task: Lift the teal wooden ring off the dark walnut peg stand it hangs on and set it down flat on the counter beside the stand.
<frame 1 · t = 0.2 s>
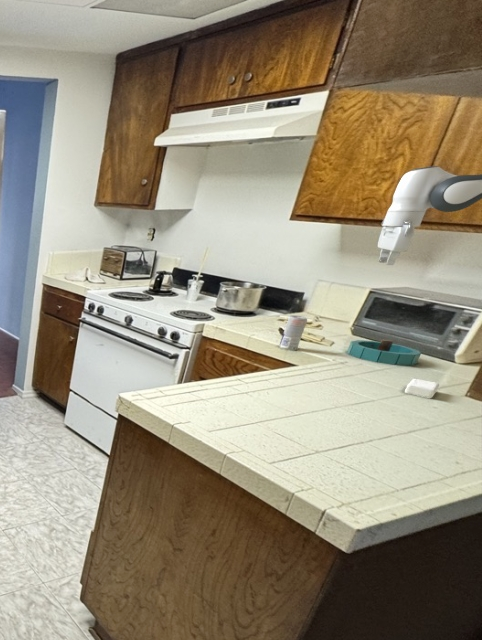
hand: (385, 263, 160), 32 cm above the counter, tool pointing down, fingers open, 8 cm apart
ring: (380, 357, 166), on the counter
energy drink: (287, 349, 175), on the counter
soap: (419, 393, 134), on the counter
peg stand: (380, 357, 166), on the counter
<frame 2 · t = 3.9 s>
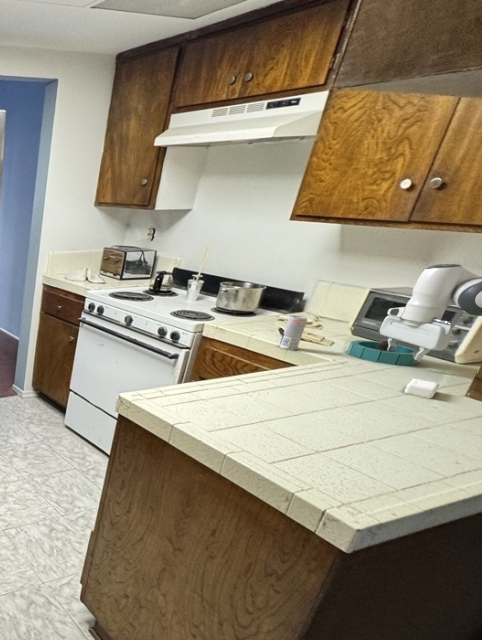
hand: (403, 355, 157), 3 cm above the counter, tool pointing down, fingers open, 8 cm apart
nothing on the counter moved.
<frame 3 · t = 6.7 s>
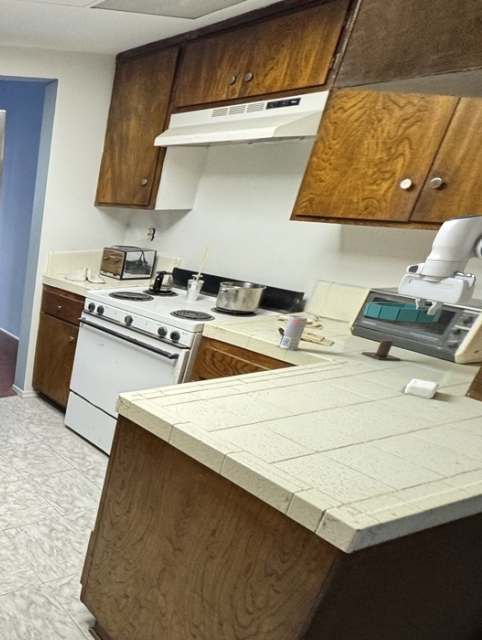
hand: (424, 313, 152), 18 cm above the counter, tool pointing down, fingers closed on ring
ring: (398, 317, 160), point 15 cm above the counter, touching gripper
everything else where it was.
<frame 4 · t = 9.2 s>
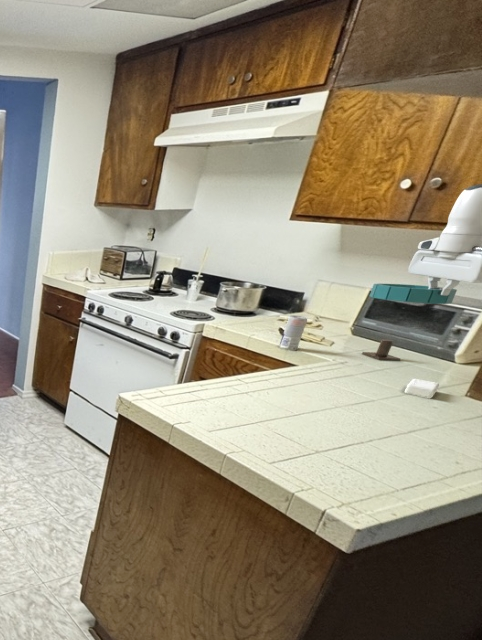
hand: (437, 294, 138), 26 cm above the counter, tool pointing down, fingers closed on ring
ring: (408, 299, 146), point 23 cm above the counter, touching gripper
everything else where it was.
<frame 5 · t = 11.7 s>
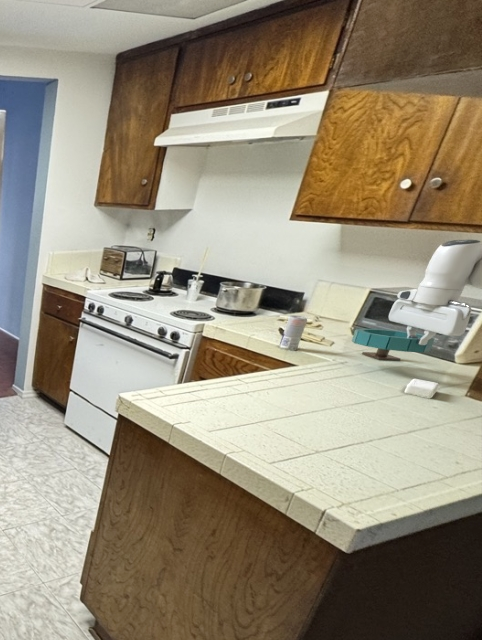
hand: (415, 342, 142), 11 cm above the counter, tool pointing down, fingers closed on ring
ring: (389, 345, 150), point 8 cm above the counter, touching gripper
everything else where it was.
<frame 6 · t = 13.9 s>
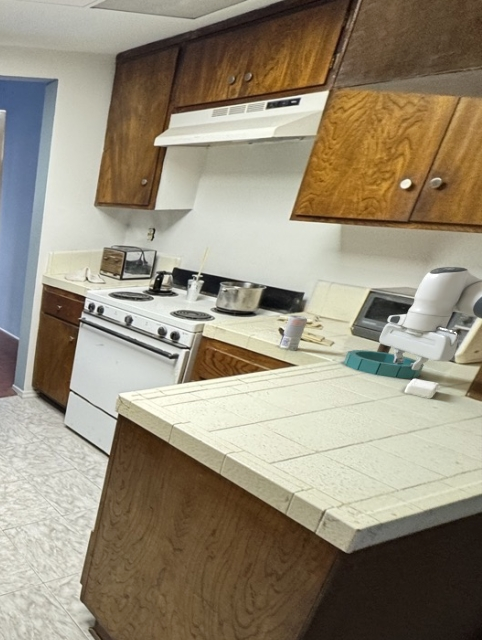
hand: (405, 366, 145), 4 cm above the counter, tool pointing down, fingers open, 4 cm apart
ring: (379, 369, 153), on the counter
everything else where it was.
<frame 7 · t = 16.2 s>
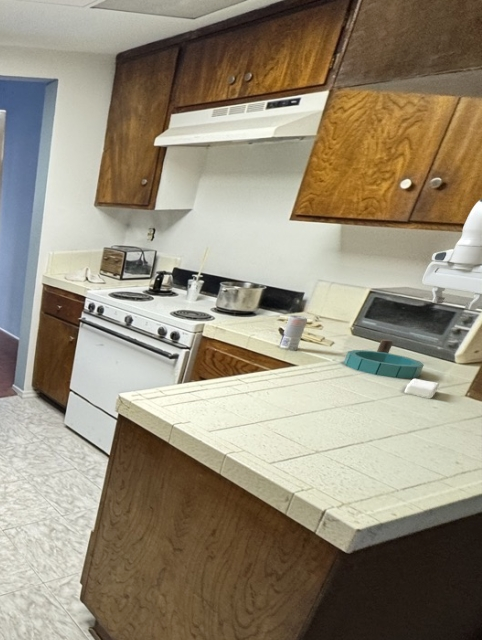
hand: (452, 306, 135), 23 cm above the counter, tool pointing down, fingers open, 8 cm apart
nothing on the counter moved.
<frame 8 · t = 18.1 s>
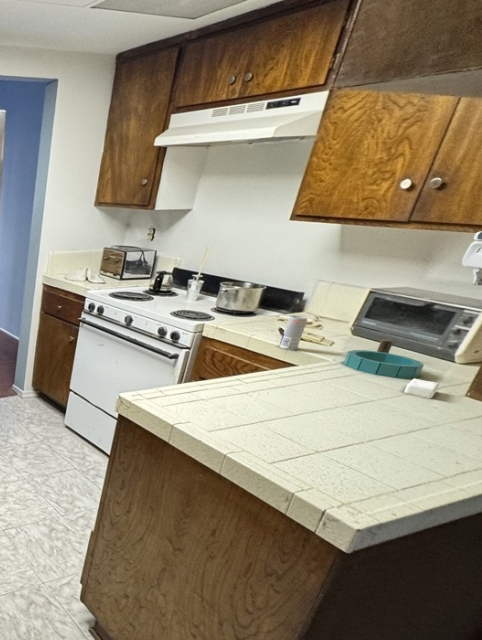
nothing on the counter moved.
at the end: ring inside the target area (0.2 cm from its centre), on the counter; ring tilted 0°; the gripper is holding nothing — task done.
